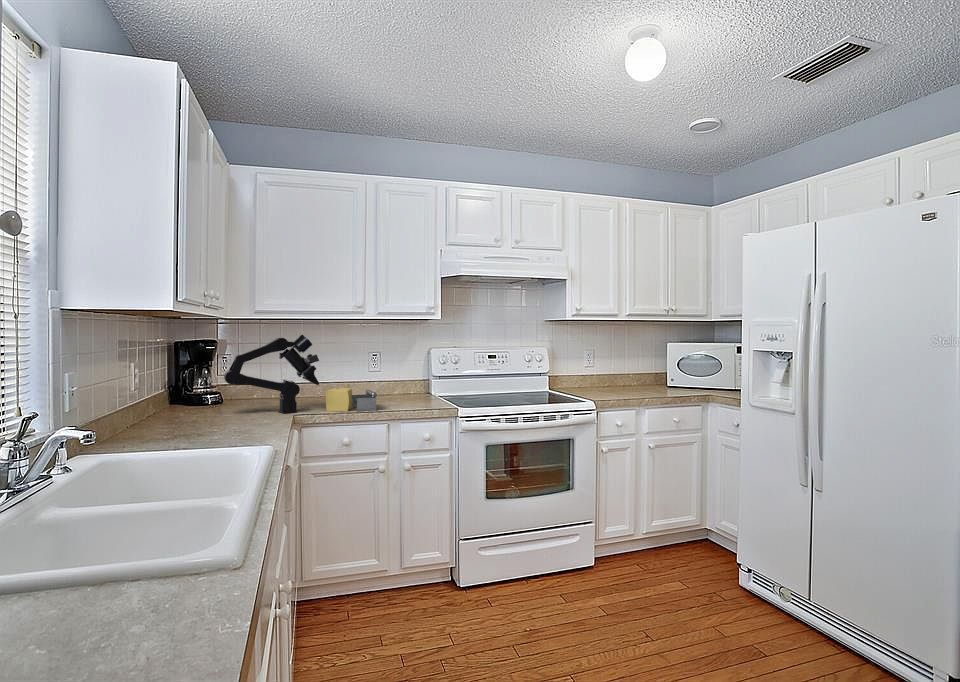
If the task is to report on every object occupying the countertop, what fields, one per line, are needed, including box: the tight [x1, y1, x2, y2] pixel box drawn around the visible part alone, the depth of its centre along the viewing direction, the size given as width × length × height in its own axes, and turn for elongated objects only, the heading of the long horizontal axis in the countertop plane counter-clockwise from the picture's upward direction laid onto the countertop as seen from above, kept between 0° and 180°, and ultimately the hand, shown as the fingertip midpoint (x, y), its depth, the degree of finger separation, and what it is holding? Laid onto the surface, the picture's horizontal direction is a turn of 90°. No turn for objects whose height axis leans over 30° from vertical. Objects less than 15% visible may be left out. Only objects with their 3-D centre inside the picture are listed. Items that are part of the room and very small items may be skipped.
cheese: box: [325, 387, 353, 412], centre depth 277 cm, size 10×11×10 cm
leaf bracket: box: [352, 389, 378, 412], centre depth 282 cm, size 10×17×8 cm, turn 23°
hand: (318, 384), depth 274 cm, fingers closed
